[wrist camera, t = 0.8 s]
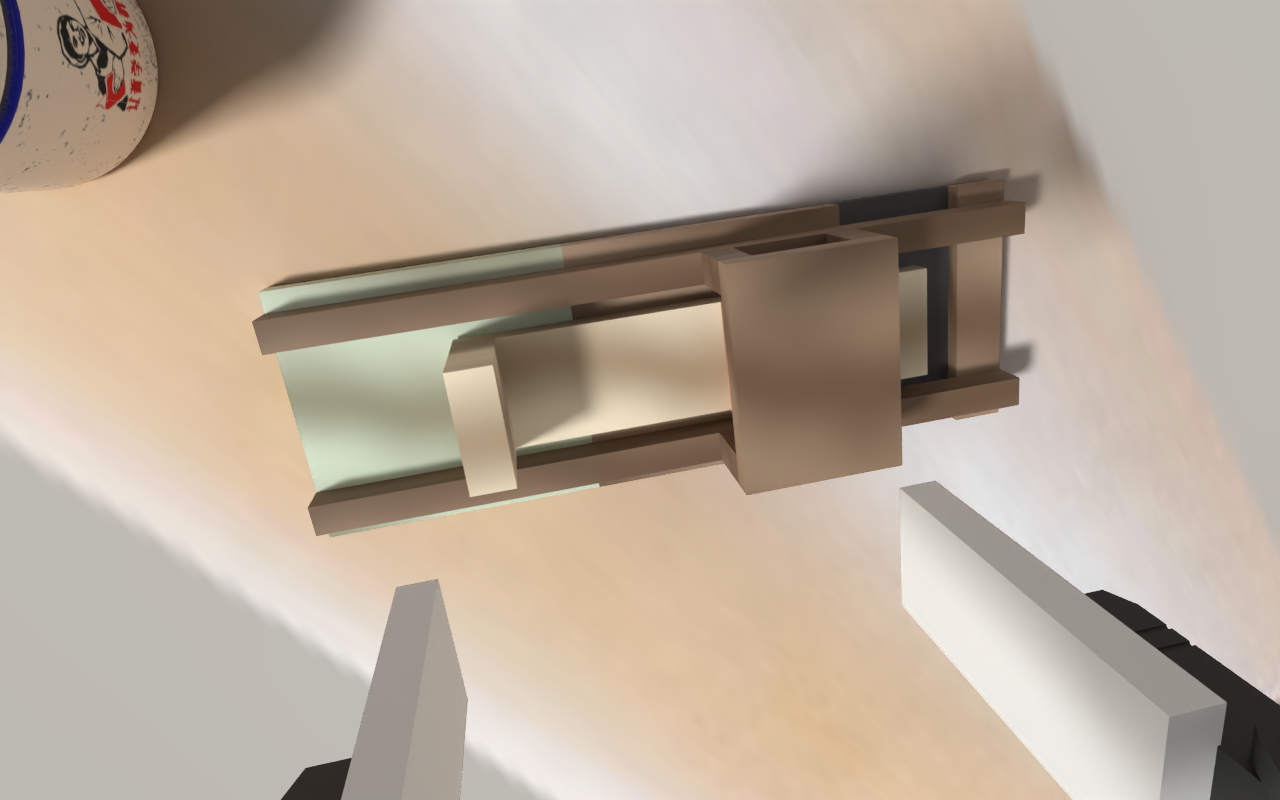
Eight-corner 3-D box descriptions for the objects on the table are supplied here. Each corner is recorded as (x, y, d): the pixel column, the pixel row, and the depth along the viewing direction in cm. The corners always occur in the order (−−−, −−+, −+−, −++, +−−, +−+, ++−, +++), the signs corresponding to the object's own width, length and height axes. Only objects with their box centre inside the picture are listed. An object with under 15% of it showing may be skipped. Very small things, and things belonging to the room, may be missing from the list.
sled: (453, 339, 29) (442, 373, 24) (914, 264, 31) (983, 283, 26) (475, 446, 30) (470, 497, 26) (915, 368, 32) (981, 402, 28)
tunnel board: (266, 287, 28) (208, 318, 23) (989, 179, 32) (1089, 183, 26) (335, 525, 32) (298, 602, 26) (985, 405, 35) (1073, 451, 29)
